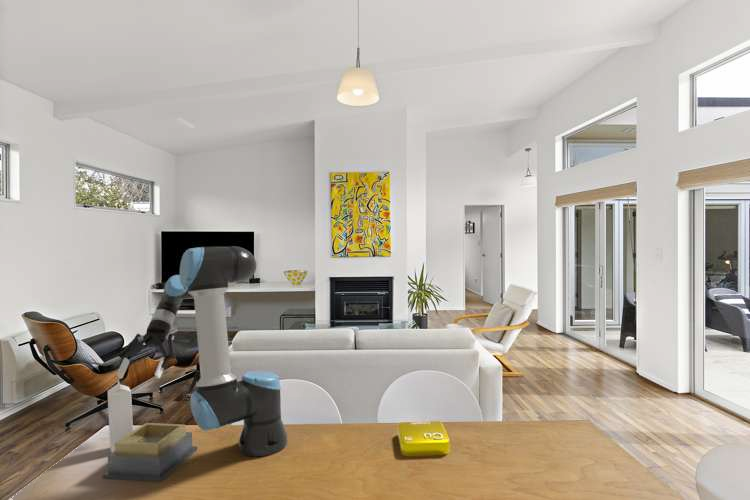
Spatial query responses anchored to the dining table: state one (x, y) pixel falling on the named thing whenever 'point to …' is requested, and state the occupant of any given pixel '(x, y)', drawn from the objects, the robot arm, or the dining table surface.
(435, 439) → the element tile
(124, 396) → the milk
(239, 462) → the dining table surface
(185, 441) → the grey tan square box
